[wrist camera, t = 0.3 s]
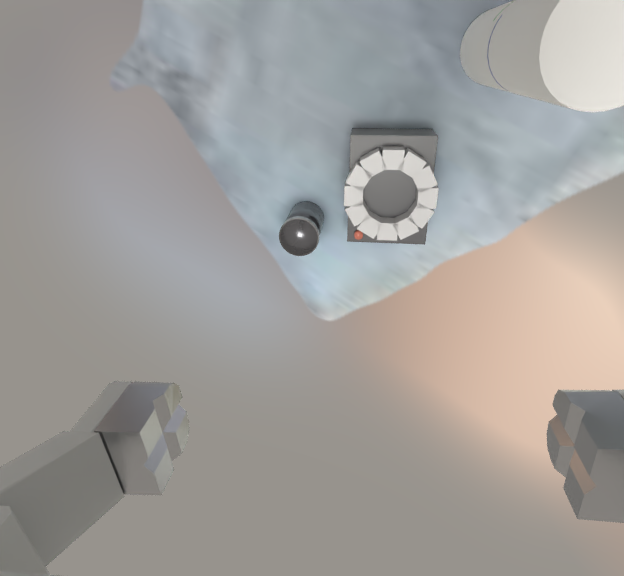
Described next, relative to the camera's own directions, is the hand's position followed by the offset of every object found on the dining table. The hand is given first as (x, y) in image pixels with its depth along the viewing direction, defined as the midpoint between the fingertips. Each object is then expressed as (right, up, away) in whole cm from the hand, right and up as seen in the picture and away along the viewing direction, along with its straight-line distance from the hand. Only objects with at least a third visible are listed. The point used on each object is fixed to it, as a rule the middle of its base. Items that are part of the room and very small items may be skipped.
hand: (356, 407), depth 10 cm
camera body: (+8, +16, +43) cm, 47 cm away
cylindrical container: (+18, +28, +36) cm, 49 cm away
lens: (-2, +12, +47) cm, 48 cm away
